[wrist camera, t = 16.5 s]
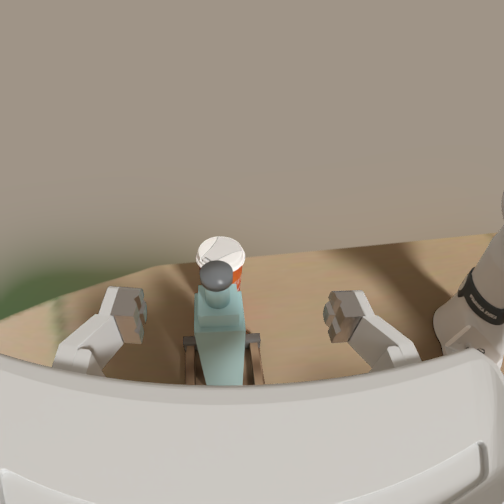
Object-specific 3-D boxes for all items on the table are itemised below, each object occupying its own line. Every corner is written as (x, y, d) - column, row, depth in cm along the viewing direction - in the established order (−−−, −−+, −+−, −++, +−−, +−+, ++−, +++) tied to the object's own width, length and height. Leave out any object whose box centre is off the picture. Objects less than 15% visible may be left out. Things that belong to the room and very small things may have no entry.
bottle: (242, 390, 40) (247, 292, 24) (208, 392, 40) (186, 295, 23) (239, 361, 44) (242, 251, 28) (207, 363, 43) (188, 253, 27)
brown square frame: (268, 409, 38) (270, 404, 36) (186, 413, 37) (182, 408, 35) (258, 342, 47) (259, 333, 45) (185, 345, 46) (183, 336, 44)
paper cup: (223, 330, 49) (221, 276, 39) (193, 306, 52) (184, 251, 43) (251, 303, 53) (256, 248, 44) (222, 283, 57) (220, 227, 47)
